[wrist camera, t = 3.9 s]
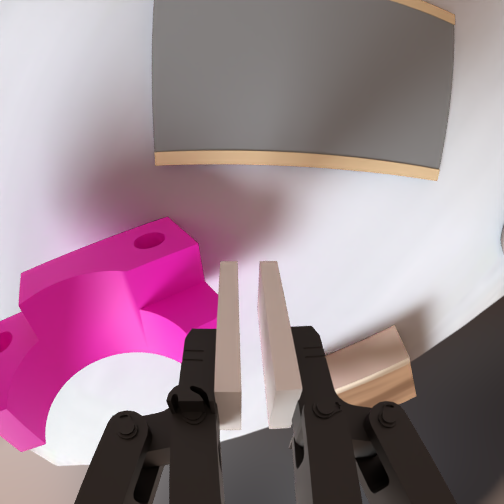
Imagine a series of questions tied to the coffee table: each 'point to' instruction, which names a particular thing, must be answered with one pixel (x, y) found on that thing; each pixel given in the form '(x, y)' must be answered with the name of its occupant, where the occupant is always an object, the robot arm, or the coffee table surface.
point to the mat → (302, 83)
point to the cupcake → (502, 240)
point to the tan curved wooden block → (373, 370)
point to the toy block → (98, 317)
